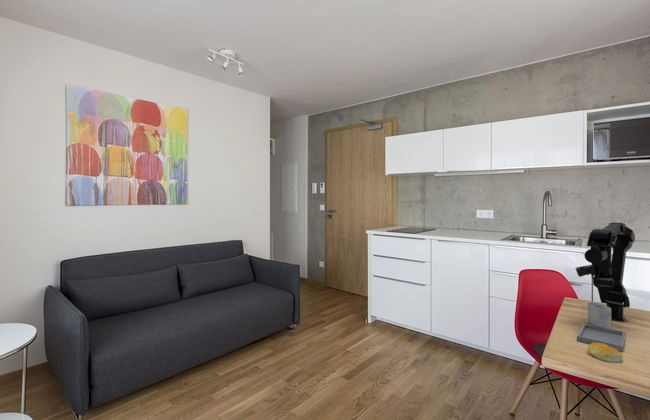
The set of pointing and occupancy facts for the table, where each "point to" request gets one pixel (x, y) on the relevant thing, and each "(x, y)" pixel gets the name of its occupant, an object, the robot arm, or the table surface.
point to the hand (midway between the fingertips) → (601, 298)
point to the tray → (601, 336)
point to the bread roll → (604, 352)
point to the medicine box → (599, 315)
